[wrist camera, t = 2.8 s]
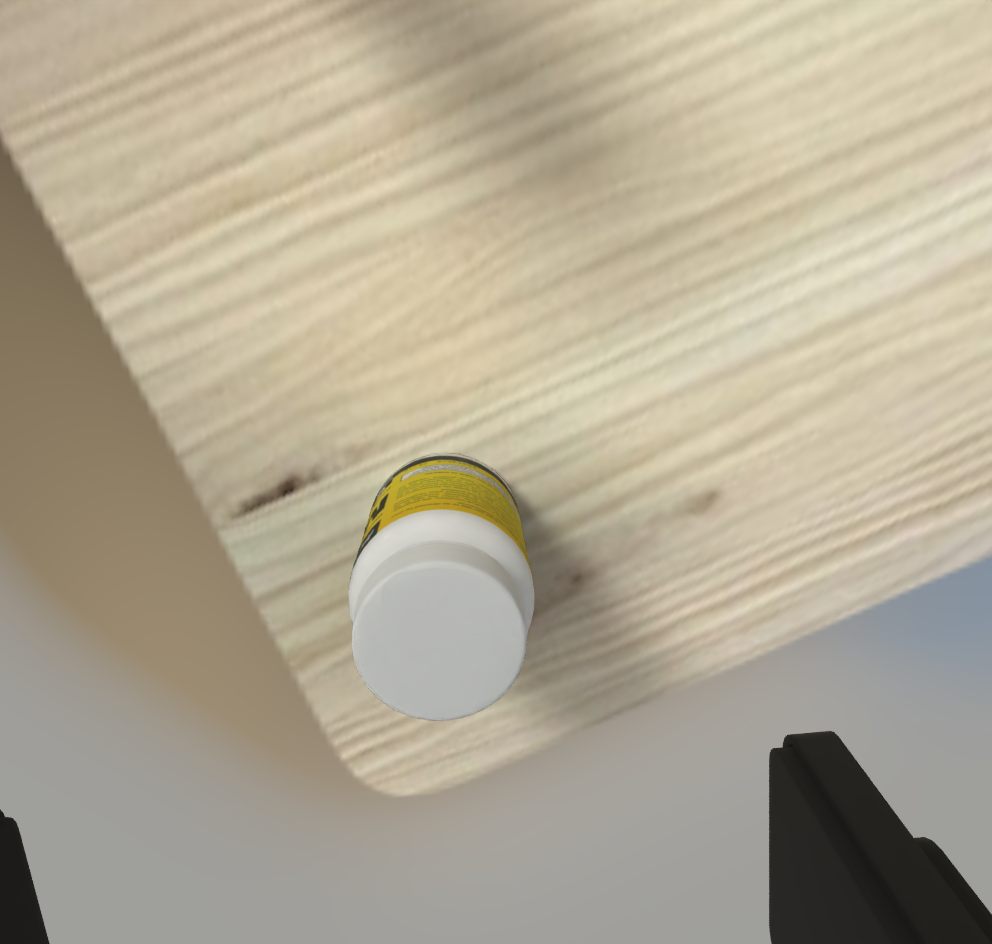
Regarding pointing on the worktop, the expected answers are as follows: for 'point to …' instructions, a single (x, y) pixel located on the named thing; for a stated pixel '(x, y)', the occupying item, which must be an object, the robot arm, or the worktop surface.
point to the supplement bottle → (441, 590)
